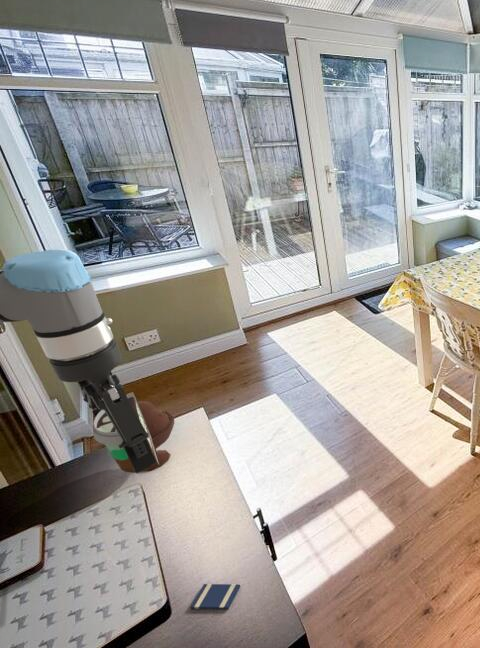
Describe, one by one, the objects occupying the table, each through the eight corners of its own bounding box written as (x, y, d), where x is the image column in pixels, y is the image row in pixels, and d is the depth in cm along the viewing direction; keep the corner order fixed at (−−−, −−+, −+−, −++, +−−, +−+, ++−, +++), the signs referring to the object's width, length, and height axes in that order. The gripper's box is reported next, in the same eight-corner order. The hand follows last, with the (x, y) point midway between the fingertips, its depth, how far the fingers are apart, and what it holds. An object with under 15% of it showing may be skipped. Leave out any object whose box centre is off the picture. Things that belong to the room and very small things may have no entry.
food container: (106, 448, 76) (86, 406, 72) (149, 431, 80) (132, 390, 76) (113, 492, 68) (91, 448, 64) (160, 470, 72) (142, 427, 68)
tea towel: (191, 609, 67) (190, 606, 67) (204, 585, 70) (203, 583, 70) (228, 609, 67) (227, 607, 67) (240, 586, 70) (239, 584, 70)
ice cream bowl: (109, 476, 88) (83, 422, 82) (160, 437, 98) (140, 387, 92) (148, 487, 86) (124, 434, 80) (196, 446, 96) (178, 396, 90)
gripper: (146, 362, 61) (187, 466, 70) (86, 315, 72) (128, 410, 81) (78, 390, 55) (132, 501, 64) (24, 334, 66) (77, 434, 75)
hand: (130, 450), depth 72 cm, fingers closed on food container, 12 cm apart
